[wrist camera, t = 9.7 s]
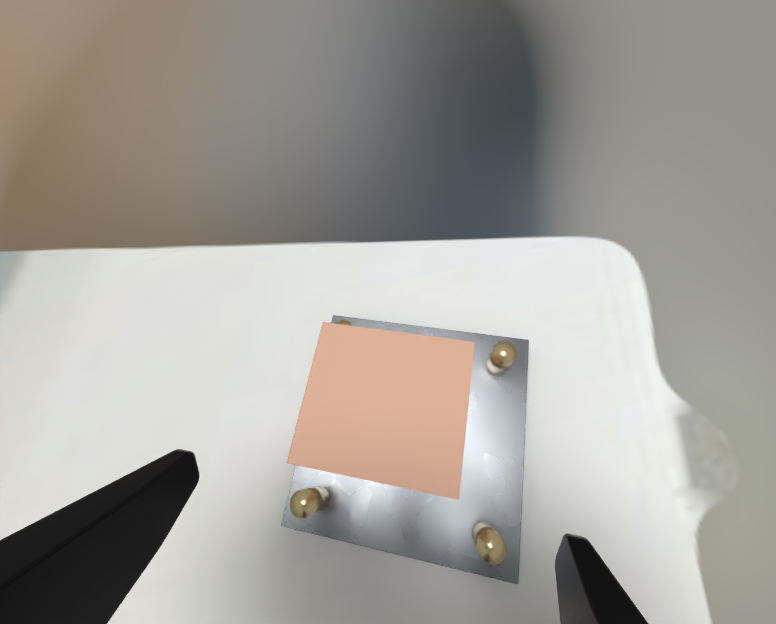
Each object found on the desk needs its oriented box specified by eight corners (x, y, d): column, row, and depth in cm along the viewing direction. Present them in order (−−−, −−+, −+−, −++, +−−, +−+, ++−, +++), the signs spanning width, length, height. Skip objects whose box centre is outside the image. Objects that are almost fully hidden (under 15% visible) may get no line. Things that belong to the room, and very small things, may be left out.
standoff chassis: (514, 578, 17) (531, 604, 14) (287, 523, 20) (259, 535, 17) (525, 344, 22) (540, 325, 19) (336, 319, 24) (321, 299, 21)
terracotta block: (447, 475, 19) (459, 499, 9) (364, 459, 20) (286, 463, 9) (456, 398, 20) (474, 341, 10) (378, 386, 21) (322, 321, 11)
